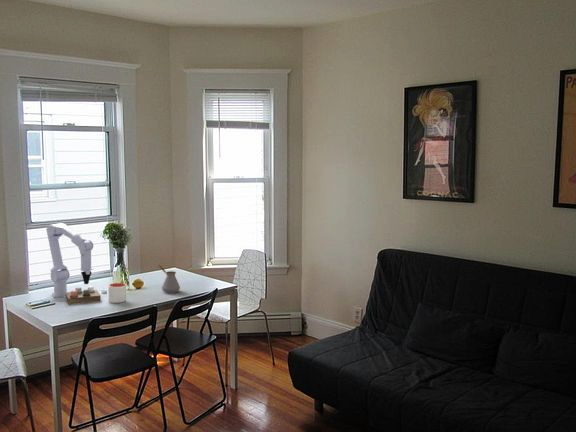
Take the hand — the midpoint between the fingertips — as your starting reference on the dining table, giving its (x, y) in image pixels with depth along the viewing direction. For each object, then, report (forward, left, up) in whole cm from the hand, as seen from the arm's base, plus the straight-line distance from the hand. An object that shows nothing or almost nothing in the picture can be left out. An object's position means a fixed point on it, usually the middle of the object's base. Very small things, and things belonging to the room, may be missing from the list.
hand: (86, 283), depth 328 cm
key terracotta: (0, -7, -7) cm, 10 cm away
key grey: (-7, -3, -7) cm, 11 cm away
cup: (+7, +17, -11) cm, 21 cm away
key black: (0, 0, -8) cm, 8 cm away
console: (-4, -1, -10) cm, 11 cm away
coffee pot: (-7, +51, -11) cm, 52 cm away
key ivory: (-7, +4, -8) cm, 11 cm away
